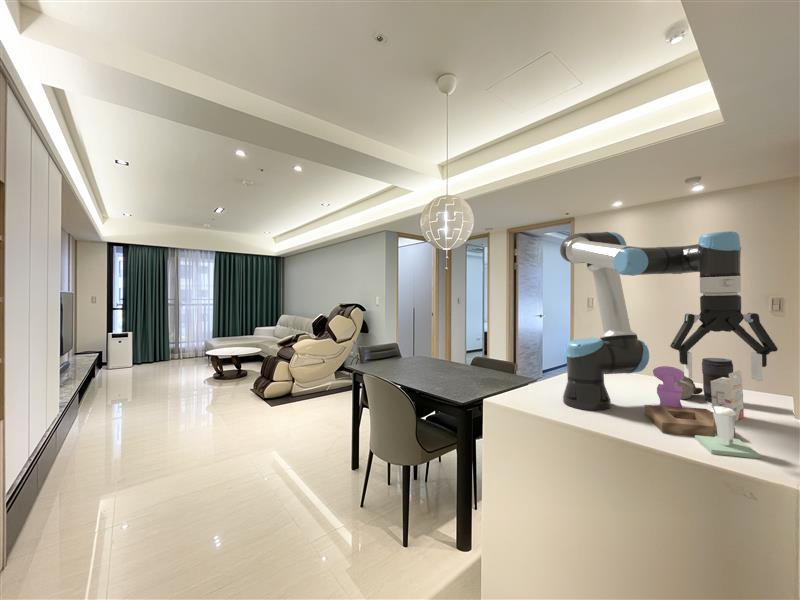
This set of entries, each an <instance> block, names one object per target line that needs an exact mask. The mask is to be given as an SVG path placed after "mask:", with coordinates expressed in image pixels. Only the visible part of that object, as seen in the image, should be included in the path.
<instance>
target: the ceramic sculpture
mask: <svg viewBox="0 0 800 600" xmlns="http://www.w3.org/2000/svg"><path fill="white" fill-rule="evenodd" d="M674 386H682V390H683V391H682V394H681V398H680V400H688V399H690V398H691V397H692V396H693V395H700V394H702V393H703V392H704V390H703V388H701V387H696V384H695V383H694V381H693V379H692V378H688V377H686V376H684V378H683V379H682V380H680V381H679V382H676V383H675V385H674Z"/></svg>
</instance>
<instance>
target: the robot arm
mask: <svg viewBox="0 0 800 600" xmlns="http://www.w3.org/2000/svg"><path fill="white" fill-rule="evenodd" d="M741 250H742V247H741V238H740V234H739V232H736V231H732V230H731V231H716V232H709V233H705V234H701V235H700V236H699V237H698V242H697V244H696V243H695V244H690V245H682V246H681V245H680V246H676V245H675V246H657V247H642V246H641V247H639V246H638V247H637V246H632V245H627V241H626V240H625V238H624V237H623V236H622V235H621V234H620V233H618V232H614V231H613V232H611V231H603V232H599V231H598V232H579V233H574V234H571V235H569V236H567V237H566V238H564V239H563V241H562V242H561V243H560V247H559V252H560V253H559V254H560V256H561V257H562V259H563V260H565V261H566V262H569V263H572V264H586V267H587V270H588V271H590V272H592V276H593V282H594V287H595V291H596V297H597V302H598V308H599V314H600V319H601V325H602V330H603V333H602V335H601V336H600V337H599V338H598V337H584V338H578V339H577V338H575V339H573V340H570V341H569V342H567V345H566V352H565V356H566V371H567V373H566V374H567V382H566V385H565V389H564V392H563V395H562V402H563V403H564V404H565V405H566V406H568V407H571V408H573V409H574V408H575V409H580V410H585V411H586V410H587V411H604V410H608V409H610V408H611V407H612V404H611V397H610V395H609V393H608V391H607V388H606V386H605V375H618V374H627V375H628V374H633V373H634V374H635V373H639V372H642V371H643V370H645V369H646V368H647V366H648V364H649V360H650V351H649V347H648V345H646V343H645V342H644V341H643V340H640V339H639V338H638V334H637V333H636V332H634V331H633V330H632V329H631V325H630V319H629V315H628V314H629V313H628V309H627V304H626V300H625V299H626V298H625V294H624V289H623V284H622V279H621V275H622V276H640V275H641V276H643V275H644V276H645V275H665V274H666V275H669V274H670V275H682V274H689V273H691V274H692V273H699V293H700V294H702V295H701V296H700V297H699V304H700V305H699V306H700V307H699V309H700V310H699V311H700V313H699V314H693V313H685V314H684V320H683V323H682V325H681V327H680V329H679V330H678V331H677V333H676V335H675V337H674V339H672V342H671V343H670V346H669V347H670V349H673V350H676V351H678V352H679V354H678V355H679V363H680V364H681V365H683V372H684V376H686V377H688V378H690V379H693V355H692V352H691V351H690V350H691V349H692V348H693V347H694V346H695V345H696V344H697V343H698V342H699V341H700V340H702V338H704V337H705V336H706V335H707V334H708V333H710V332H715V333H716V332H728V333H731V332H733V333H735V334H736V335H737V336H738V337H739V338H741V340H743V341H744V342H745V343H746V344H747V345H748V346H750V348H751V349H752V350H753V351H755V352H751V353H750V361H751V363H750V364H751V365H750V366H751V369H750V370H751V371H750V372H751V379H752V380H754V381H756V382H763V368H766V367H767V360H768V359H767V358H768V357H767V356H768V355H770V354H771V353H772V352H773V353H774V352H775V353H776V352H777V351H778V350H779V349H778V347H777V345H776V344H775V342H774V341H773V339H772V338H771V336H770V335H769V333H768V332H767V330H766V329H765V328H764V326H763V325H762V323H761V319H760V316H759V314H758V313H755V312H748V313H745V314H744V313H742V296H741V295H740V294H739V293H741V292H742V278H741V277H742V276H741ZM743 320H744V322H746V323H748V326H749V327H750V329H751V330H752V331H753V333H754V334H755V335H756V337H757V339H758V341H757V339H755V338H754V337H753V336H752V335H751V334H750V333H748V331H746V329H745V328H744V327H743V326H742V325H740V324H741V322H742V321H743ZM698 321H700V323H701V325H700V326H698V328H697V329H696V330H695V331H694V332H693V333H692V334H691V335H690V336H689V337H688V338H687V336H688V334H689V333H690V331H691V330H692V328H693V326H694V324H695V323H697V322H698ZM686 338H687V339H686ZM759 341H760V342H759Z"/></svg>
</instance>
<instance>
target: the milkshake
mask: <svg viewBox="0 0 800 600" xmlns="http://www.w3.org/2000/svg"><path fill="white" fill-rule="evenodd" d="M710 412H711V413H712V419H713V426H714V433H715V441H716V443H718V444H720V445H723V446H733V440H734V428H735V426H736V425H735V424H736V421H735V419H736V413H735V412H734V411H733V410H732V409H730V408H725V407H721V406H720V407H718V406H715V407H714V406H713V405H712V404H711V410H710Z"/></svg>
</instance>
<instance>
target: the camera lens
mask: <svg viewBox="0 0 800 600" xmlns="http://www.w3.org/2000/svg"><path fill="white" fill-rule="evenodd" d="M701 371H702V376H703V377H702V383H703V384H702V386H703V388H702V390H703V395H704V397H705V401H706V402H709V403H711V404H712V397H711V382H710V381H713V380H716V379H719V378H722V377H725V378H729V373H732V372H734V364H733V361H732V360H731V359H730V358H729V359H728V358H722V357H721V358H719V357H704V358H702V361H701Z"/></svg>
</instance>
